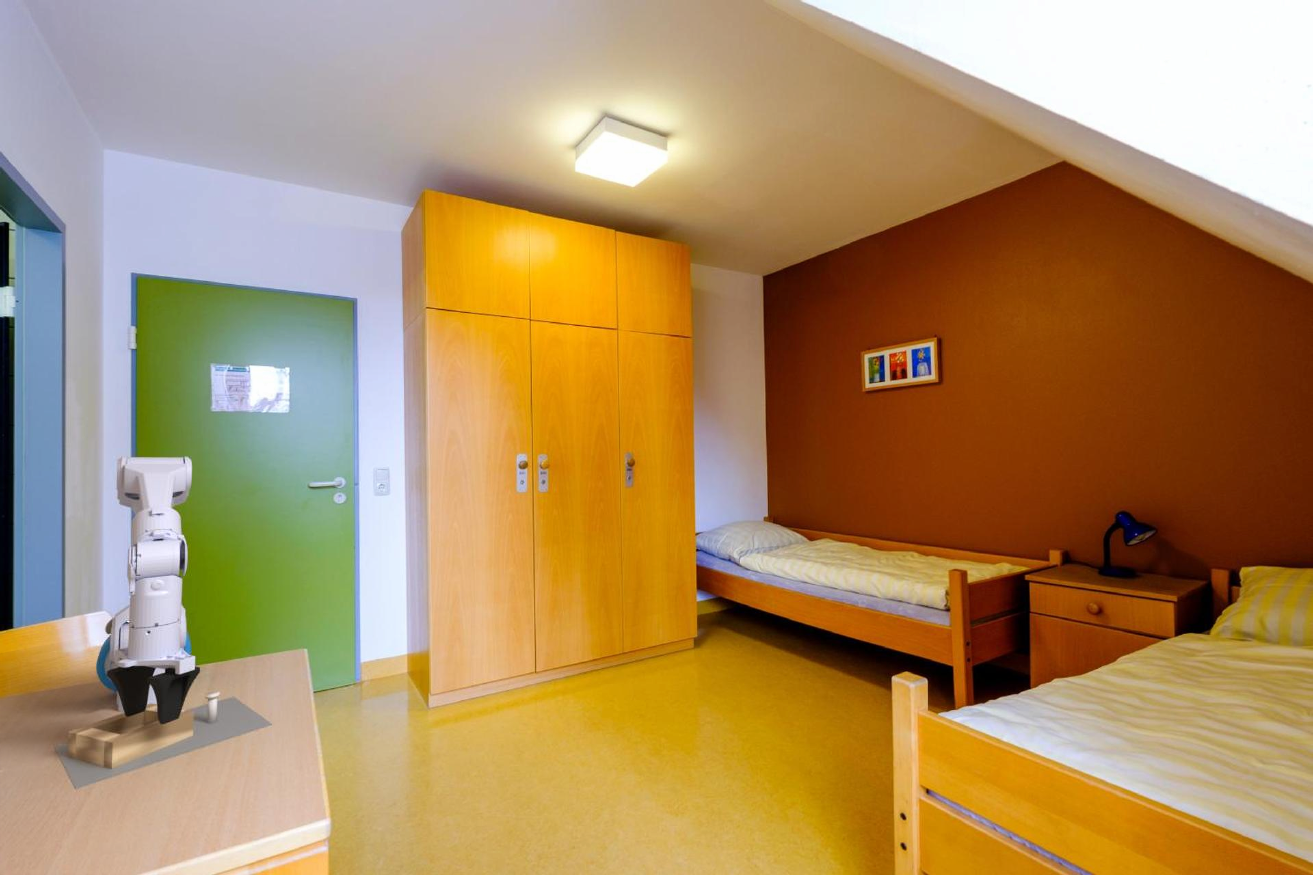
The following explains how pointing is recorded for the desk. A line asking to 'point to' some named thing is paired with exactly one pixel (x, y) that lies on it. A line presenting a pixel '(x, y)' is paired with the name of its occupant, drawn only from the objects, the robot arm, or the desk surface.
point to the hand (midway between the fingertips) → (152, 717)
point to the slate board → (208, 729)
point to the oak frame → (127, 737)
